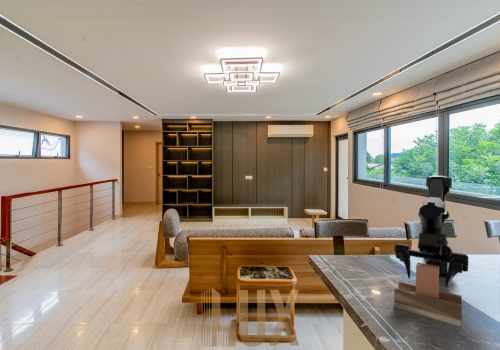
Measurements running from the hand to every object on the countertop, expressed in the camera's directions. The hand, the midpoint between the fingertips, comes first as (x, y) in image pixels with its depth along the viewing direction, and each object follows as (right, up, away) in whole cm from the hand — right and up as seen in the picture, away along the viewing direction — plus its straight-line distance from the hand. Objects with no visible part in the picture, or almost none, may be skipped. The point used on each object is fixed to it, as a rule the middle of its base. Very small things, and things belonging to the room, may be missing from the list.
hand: (426, 282), depth 78 cm
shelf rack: (+1, -9, +1) cm, 9 cm away
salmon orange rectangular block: (+1, -8, +1) cm, 8 cm away
